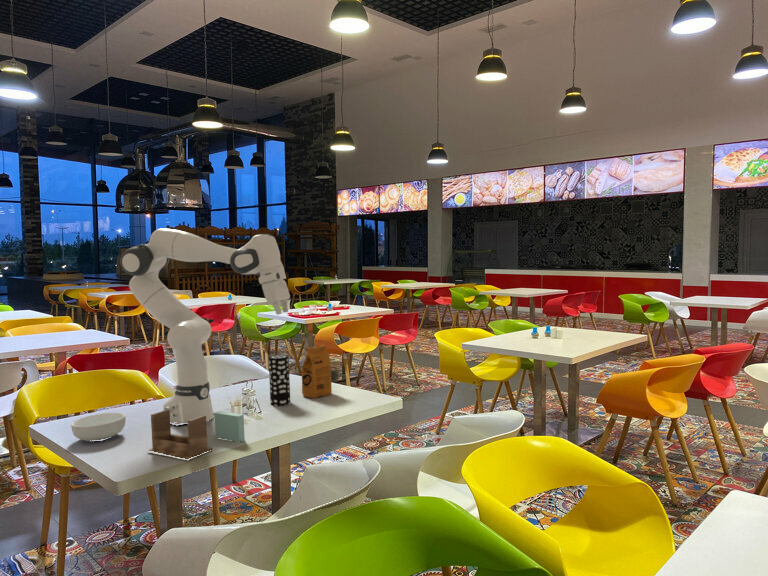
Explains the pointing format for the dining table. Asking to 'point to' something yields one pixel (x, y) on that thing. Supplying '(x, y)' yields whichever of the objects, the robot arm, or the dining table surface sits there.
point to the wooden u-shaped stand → (178, 436)
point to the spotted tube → (279, 380)
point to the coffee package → (316, 373)
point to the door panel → (229, 426)
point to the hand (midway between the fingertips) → (282, 313)
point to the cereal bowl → (98, 426)
